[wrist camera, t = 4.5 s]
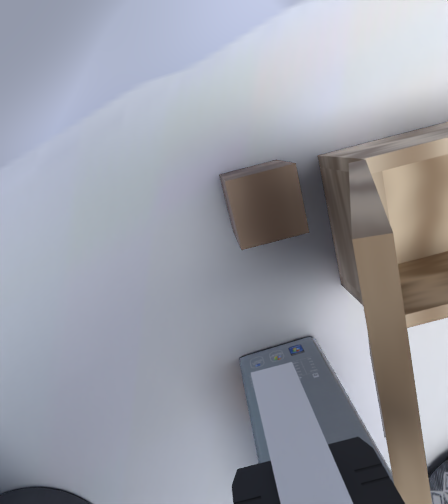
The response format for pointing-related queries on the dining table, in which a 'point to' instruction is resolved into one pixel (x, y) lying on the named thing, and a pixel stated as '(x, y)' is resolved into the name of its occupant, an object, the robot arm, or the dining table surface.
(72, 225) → the dining table surface
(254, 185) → the walnut block
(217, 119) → the dining table surface
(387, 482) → the robot arm
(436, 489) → the planter
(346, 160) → the light wooden box
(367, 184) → the lid
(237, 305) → the dining table surface
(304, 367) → the hard drive box
